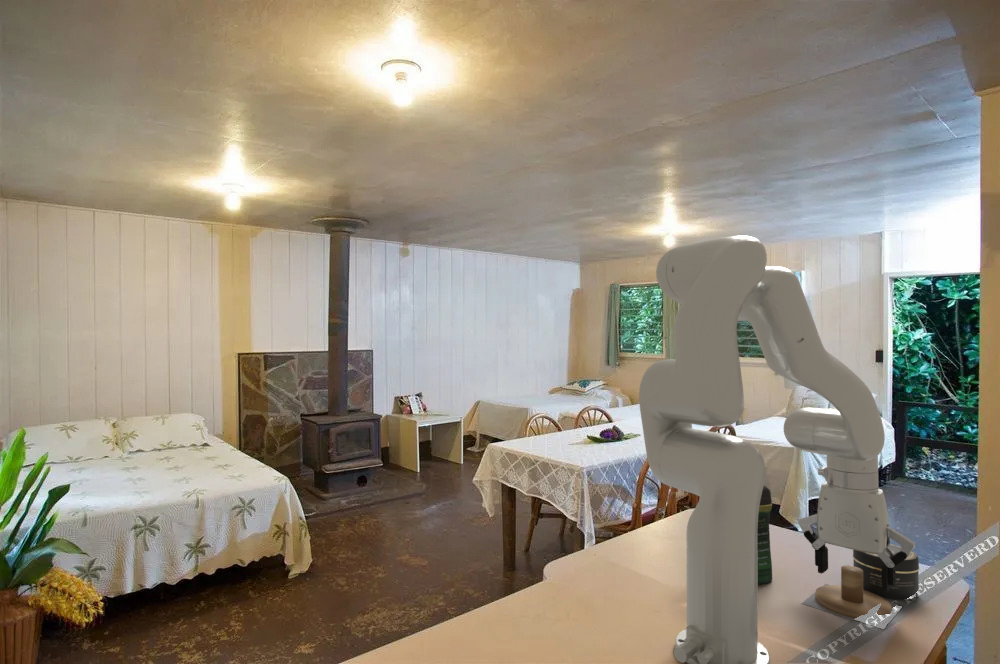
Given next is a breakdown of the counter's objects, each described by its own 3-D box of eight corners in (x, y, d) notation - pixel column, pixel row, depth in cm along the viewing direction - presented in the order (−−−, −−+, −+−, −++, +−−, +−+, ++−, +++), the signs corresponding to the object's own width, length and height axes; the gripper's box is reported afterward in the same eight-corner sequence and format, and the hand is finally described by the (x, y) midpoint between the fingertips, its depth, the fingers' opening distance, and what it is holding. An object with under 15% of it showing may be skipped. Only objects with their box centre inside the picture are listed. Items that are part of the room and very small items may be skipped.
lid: (881, 627, 89) (880, 588, 89) (805, 603, 97) (805, 568, 97) (899, 606, 96) (899, 570, 96) (827, 585, 104) (827, 552, 104)
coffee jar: (780, 585, 106) (780, 485, 106) (745, 590, 103) (745, 488, 104) (743, 565, 115) (743, 473, 115) (710, 570, 112) (710, 476, 113)
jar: (854, 576, 110) (854, 536, 110) (918, 589, 104) (917, 547, 105) (851, 595, 102) (851, 552, 102) (921, 609, 96) (920, 564, 96)
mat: (884, 633, 88) (884, 629, 88) (801, 606, 97) (801, 603, 97) (903, 609, 96) (903, 606, 96) (825, 587, 105) (825, 583, 105)
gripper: (790, 474, 101) (792, 571, 101) (907, 493, 88) (909, 603, 88) (805, 467, 106) (807, 559, 106) (918, 484, 93) (921, 588, 93)
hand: (854, 579), depth 97 cm, fingers open, 9 cm apart
